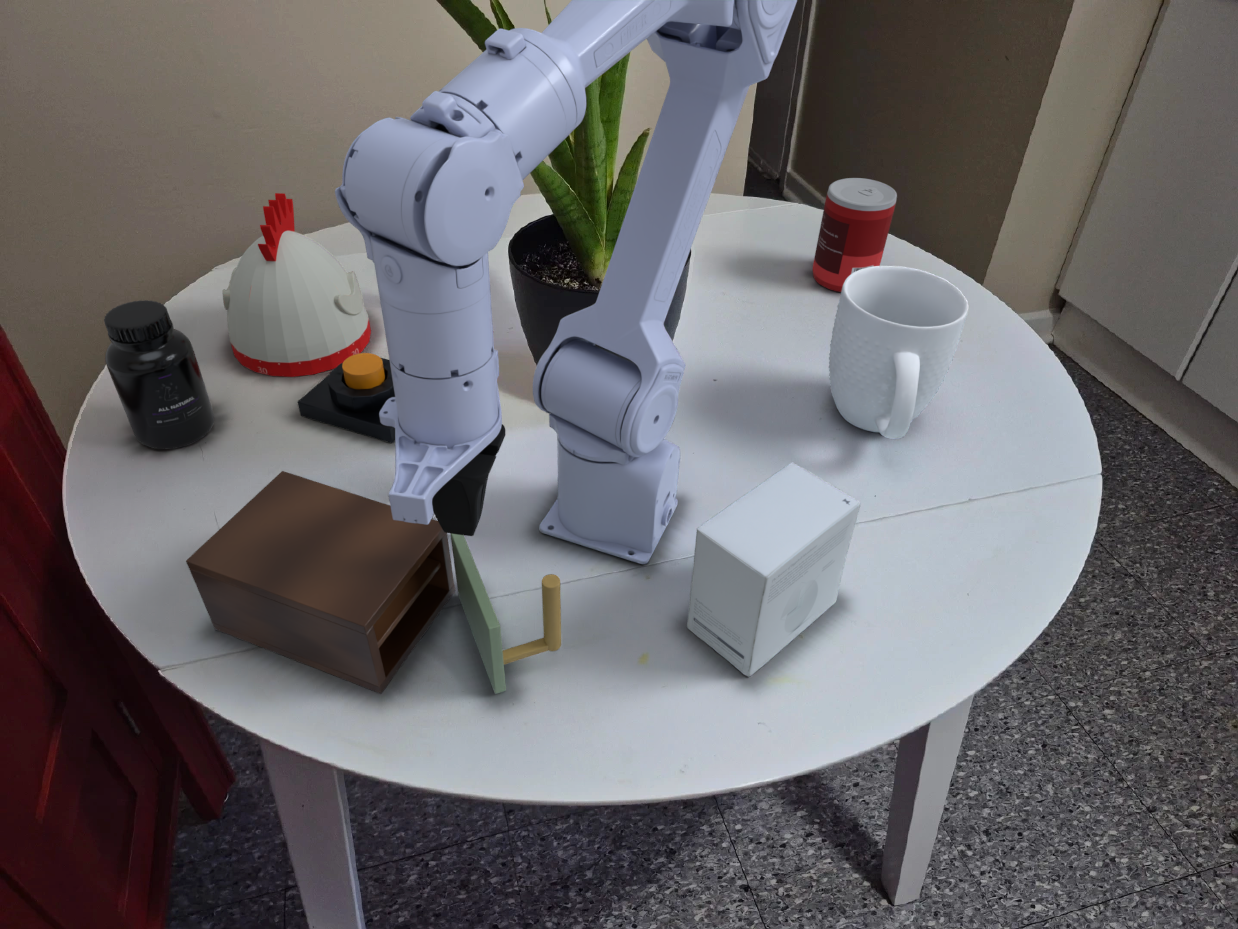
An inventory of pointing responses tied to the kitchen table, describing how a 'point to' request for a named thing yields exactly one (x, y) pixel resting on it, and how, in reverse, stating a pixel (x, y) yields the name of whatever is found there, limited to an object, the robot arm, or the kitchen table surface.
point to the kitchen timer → (293, 302)
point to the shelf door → (487, 623)
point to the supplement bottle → (156, 376)
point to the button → (363, 371)
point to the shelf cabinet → (325, 579)
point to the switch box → (350, 404)
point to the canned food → (852, 229)
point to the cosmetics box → (769, 566)
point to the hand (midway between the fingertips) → (461, 527)
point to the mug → (892, 345)
